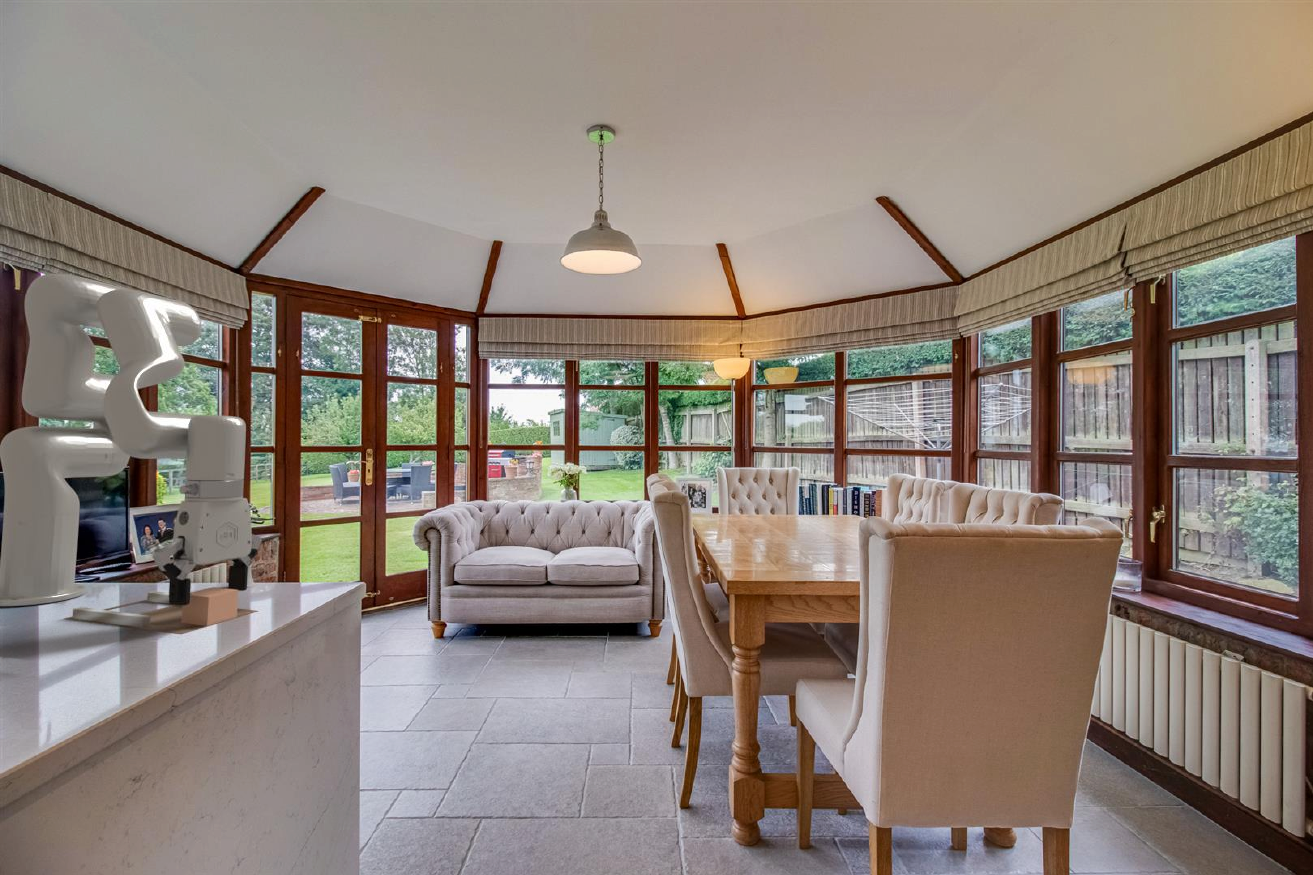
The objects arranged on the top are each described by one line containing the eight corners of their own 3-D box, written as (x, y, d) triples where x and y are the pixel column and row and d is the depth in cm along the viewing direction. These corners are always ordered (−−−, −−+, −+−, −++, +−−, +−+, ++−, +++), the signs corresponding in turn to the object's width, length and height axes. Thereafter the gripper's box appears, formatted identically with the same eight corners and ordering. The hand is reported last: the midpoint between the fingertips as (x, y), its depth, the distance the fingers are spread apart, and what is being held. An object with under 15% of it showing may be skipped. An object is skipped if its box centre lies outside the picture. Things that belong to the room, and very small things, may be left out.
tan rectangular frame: (63, 627, 90) (64, 608, 90) (151, 606, 102) (152, 590, 103) (180, 644, 85) (182, 623, 85) (258, 619, 98) (259, 602, 98)
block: (181, 622, 90) (183, 594, 90) (211, 614, 95) (213, 587, 95) (207, 625, 89) (209, 597, 89) (236, 617, 94) (238, 589, 94)
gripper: (179, 495, 83) (173, 612, 83) (279, 488, 100) (275, 586, 100) (138, 493, 85) (132, 608, 84) (244, 487, 102) (239, 583, 101)
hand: (209, 596), depth 92 cm, fingers open, 9 cm apart
